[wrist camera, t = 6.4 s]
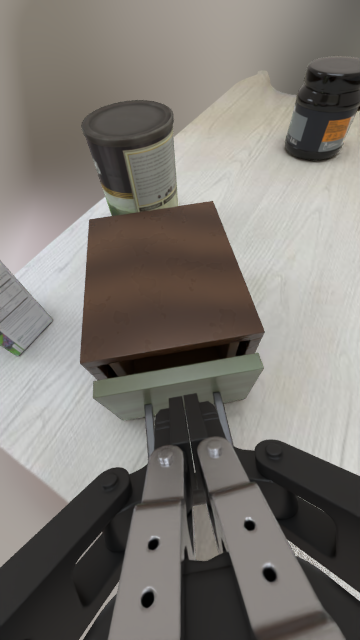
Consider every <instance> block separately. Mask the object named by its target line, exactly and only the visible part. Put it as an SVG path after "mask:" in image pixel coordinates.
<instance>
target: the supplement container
mask: <svg viewBox="0 0 360 640" xmlns="http://www.w3.org/2000/svg"><path fill="white" fill-rule="evenodd" d="M304 81H305V83H304V85H303V86H302V87H301V88H300V89H299V91H298V93H297V96H296V103H295V107H294V111H293V114H292V118H291V122H290V126H289V129H288V133H287V136H286V139H285V147H286V149H287V150H288V152H289V153H291V154H292V155H294V156H296V157H298V158H301V159H306V160H323V159H327V158H330V157H332V156H334V155H335V154H337V153H338V152H339V151H340V149H341V148H342V145H343V142H344V140H345V137H346V135H347V133H348V130H349V128H350V126H351V124H352V121H353V119H354V117H355V114H356V112H357V110H358V108H359V105H360V58H355V57H345V56H333V57H324V58H319V59H316V60H314V61H312V62H310V63H309V65H308V67H307V71H306V74H305V78H304Z"/></svg>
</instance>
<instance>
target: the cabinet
mask: <svg viewBox="0 0 360 640" xmlns="http://www.w3.org/2000/svg"><path fill="white" fill-rule="evenodd" d="M264 333H265V331H264V328H263V326H262V323H261V321H260V318H259V316H258V313H257V311H256V308H255V306H254V303H253V301H252V298H251V296H250V293H249V291H248V288H247V286H246V283H245V281H244V278H243V276H242V273H241V271H240V268H239V266H238V263H237V260H236V258H235V255H234V253H233V250H232V248H231V245H230V243H229V240H228V238H227V235H226V233H225V230H224V228H223V225H222V223H221V220H220V218H219V215H218V213H217V210H216V208H215V205H214V203H213V201H210V202H203V203H196V204H190V205H183V206H176V207H170V208H163V209H156V210H150V211H143V212H136V213H130V214H123V215H116V216H110V217H103V218H96V219H90V220H89V231H88V247H87V262H86V278H85V293H84V308H83V324H82V339H81V354H80V364H81V365H82V366H83V367H84V368H86V369H87V370H88V371H89V372H90V373H91V374H92V375H93V376H94V377H95V378H96V379H97V380H103V379H109V378H115V377H119V376H118V375H117V374H116V373H115V371H114V370H113V369H112V368H111V366H110V365H109V364H111V363H117V362H123V361H129V360H135V359H141V358H146V357H152V356H158V355H164V354H170V353H176V352H182V351H188V350H193V349H199V348H205V347H211V346H217V345H223V344H229V343H235V342H239V345H238V348H237V351H236V354H235V357H237V356H243V355H248V354H254V353H255V352H256V349H257V347H258V345H259V343H260V341H261V339H262V337H263V335H264Z"/></svg>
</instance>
